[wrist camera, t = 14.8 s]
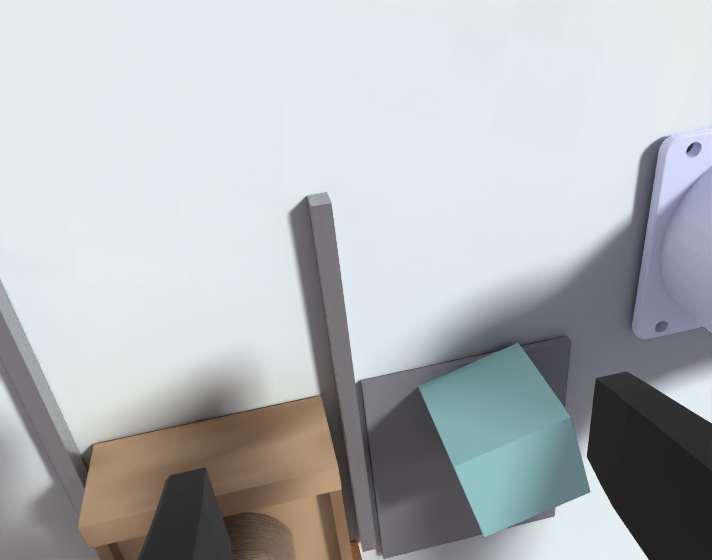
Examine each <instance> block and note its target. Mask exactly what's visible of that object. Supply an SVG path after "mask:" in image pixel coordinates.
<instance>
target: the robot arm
mask: <svg viewBox="0 0 712 560" xmlns="http://www.w3.org/2000/svg"><path fill="white" fill-rule="evenodd" d="M691 143H694V145H693V147H692V149H691V150H690V151H689V152H687V153H686V150H687V148H688V146H689V145H690V144H691ZM659 322H661V323H660V324H658V323H659ZM657 324H658V325H657ZM656 325H657V326H656ZM701 327H705V328H706V329H707V330H708V331H709V332H710V333H712V128H706V129H700V130H695V131H689V132H683V133H678V134H674V135H671V136H669V137H668V138H667V139H665V140H664V141H663V143H662V144H661V146H660V149H659V152H658V159H657V165H656V172H655V179H654V185H653V192H652V198H651V205H650V211H649V218H648V224H647V231H646V237H645V244H644V251H643V257H642V264H641V270H640V277H639V283H638V290H637V296H636V303H635V310H634V316H633V323H632V331H633V333H634V334H635V335H636V336H637V337H638V338H640V339H642V340H644V339H651V338H655V337H660V336H664V335H669V334H674V333H678V332H683V331H687V330H692V329H697V328H701ZM587 458H588V460H589V462H590V464H591V466H592V468H593V470H594V472H595V474H596V476H597V478H598V480H599V482H600V484H601V486H602V488H603V489H604V491H605V493H606V495H607V497H608V499H609V500H610V502H611V504H612V506H613V508H614V509H615V511H616V512H617V514H618V515H619V517H620V518H621V520H622V521H623V523H624V524H625V525H626V527H627V528H628V530H629V531H630V533H631V534H632V536H633V537H634V539H635V540H636V542H637V543H638V545H639V546H640V547H641V549H642V550H643V552H644V553H645V555H646V556H647V558H648V559H649V560H712V423H710V422H708V421H707V420H705V419H703V418H702V417H700V416H699V415H697V414H695V413H694V412H692V411H690V410H689V409H687V408H686V407H684V406H682V405H681V404H679V403H677V402H676V401H674V400H673V399H671V398H669V397H668V396H666V395H665V394H663V393H661V392H660V391H658V390H656V389H655V388H653V387H652V386H650V385H648V384H647V383H645V382H643V381H642V380H640V379H638V378H637V377H635V376H633V375H632V374H630V373H628V372H622V373H618V374H613V375H609V376H604V377H600V378H596V382H595V390H594V399H593V407H592V416H591V425H590V433H589V442H588V450H587ZM137 560H232V552H231V542H230V539H229V536H228V533H227V530H226V527H225V524H224V521H223V518H222V515H221V512H220V509H219V506H218V503H217V500H216V497H215V494H214V490H213V487H212V484H211V481H210V478H209V475H208V472H207V469H206V467H204V468H200V469H195V470H191V471H186V472H182V473H178V474H173V475H170V476H169V477H168V479H167V480H166V481H165V484H164V488H163V491H162V494H161V497H160V500H159V503H158V506H157V509H156V512H155V515H154V518H153V521H152V523H151V526H150V529H149V531H148V534H147V537H146V539H145V542H144V544H143V547H142V550H141V552H140V555H139V557H138V559H137Z"/></svg>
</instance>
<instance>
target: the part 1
mask: <svg viewBox="0 0 712 560" xmlns="http://www.w3.org/2000/svg"><path fill="white" fill-rule="evenodd" d="M222 518H223V521H224V524H225V527H226V530H227V533H228V536H229V539H230V542H231V552H232V560H296V553H295V546H294V539H293V536H292V533H291V531H290V530H289V529H288V527H287V526H286V525H285V524H284V523H282V522H281V521H279V520H278V519H276V518H274V517H271V516H269V515H265V514H261V513H254V512H243V513H238V514H234V515H230V516H226V517H222Z"/></svg>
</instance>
